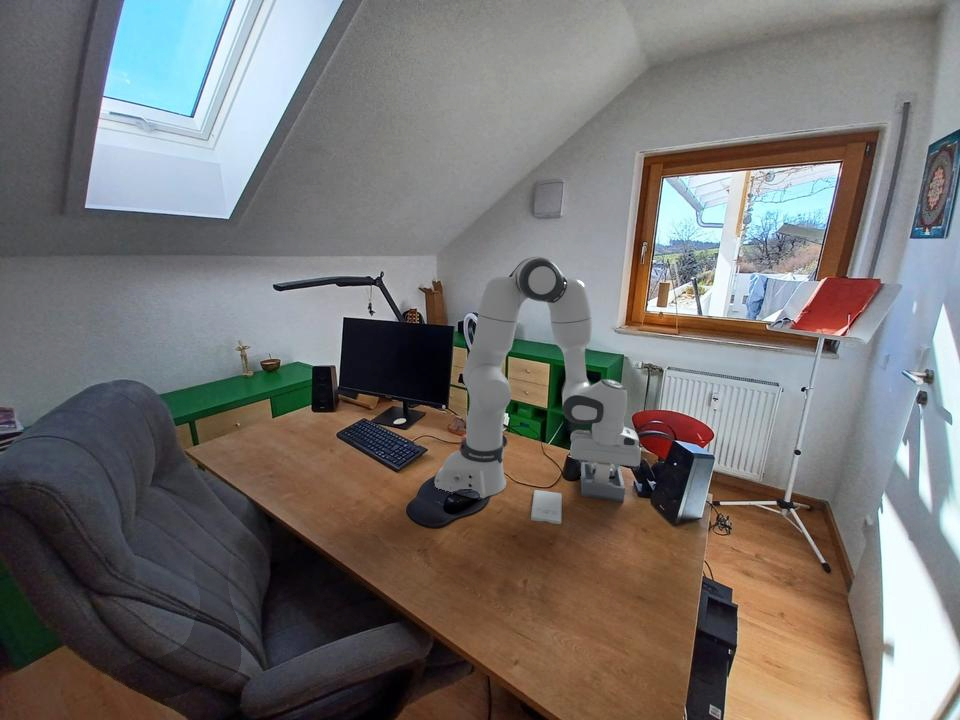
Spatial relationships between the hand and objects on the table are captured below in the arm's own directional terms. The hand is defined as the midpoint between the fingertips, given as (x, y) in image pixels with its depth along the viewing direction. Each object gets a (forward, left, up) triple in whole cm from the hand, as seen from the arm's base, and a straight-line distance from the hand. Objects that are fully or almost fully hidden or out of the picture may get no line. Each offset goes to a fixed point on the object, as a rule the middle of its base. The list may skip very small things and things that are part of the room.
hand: (602, 473), depth 119 cm
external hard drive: (-16, -14, -6) cm, 22 cm away
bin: (0, 0, -5) cm, 5 cm away
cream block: (0, 0, -3) cm, 3 cm away
